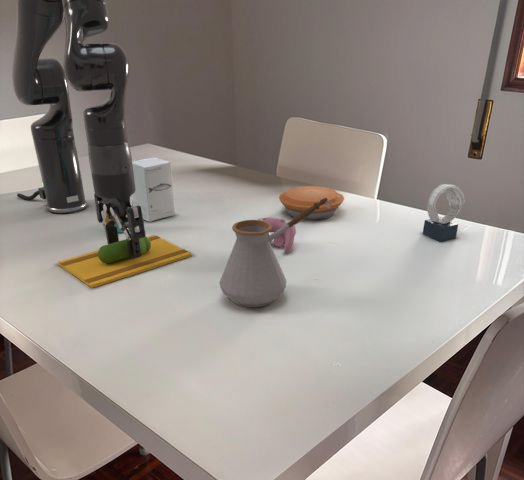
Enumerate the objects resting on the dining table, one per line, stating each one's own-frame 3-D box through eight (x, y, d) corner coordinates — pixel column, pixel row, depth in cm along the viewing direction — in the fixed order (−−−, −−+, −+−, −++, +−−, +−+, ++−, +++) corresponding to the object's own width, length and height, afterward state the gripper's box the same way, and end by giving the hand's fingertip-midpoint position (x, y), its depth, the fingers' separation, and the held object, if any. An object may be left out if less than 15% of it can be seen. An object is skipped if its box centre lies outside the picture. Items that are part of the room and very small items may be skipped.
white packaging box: (149, 222, 131) (143, 167, 124) (133, 215, 136) (126, 161, 129) (176, 215, 135) (171, 161, 128) (159, 208, 140) (153, 156, 133)
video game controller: (294, 255, 117) (299, 221, 117) (289, 253, 113) (294, 218, 112) (250, 249, 120) (254, 216, 119) (243, 247, 116) (247, 213, 115)
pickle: (95, 261, 110) (93, 244, 108) (145, 247, 116) (144, 230, 114) (104, 268, 108) (102, 251, 106) (154, 253, 114) (153, 237, 112)
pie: (321, 227, 127) (322, 205, 124) (266, 214, 135) (266, 194, 132) (355, 209, 137) (356, 189, 135) (302, 198, 145) (302, 179, 143)
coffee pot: (240, 319, 91) (237, 230, 83) (208, 292, 100) (203, 209, 92) (344, 288, 100) (351, 205, 93) (307, 266, 109) (310, 189, 101)
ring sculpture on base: (462, 236, 121) (472, 185, 116) (434, 243, 118) (442, 191, 112) (444, 228, 126) (452, 179, 120) (416, 235, 122) (423, 184, 117)
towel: (57, 264, 111) (57, 261, 110) (153, 237, 123) (153, 234, 123) (92, 288, 102) (91, 284, 101) (191, 256, 114) (191, 252, 113)
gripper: (150, 171, 100) (160, 256, 109) (111, 157, 109) (123, 237, 118) (112, 179, 96) (125, 267, 105) (75, 164, 105) (90, 246, 114)
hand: (124, 251), depth 111 cm, fingers open, 8 cm apart
